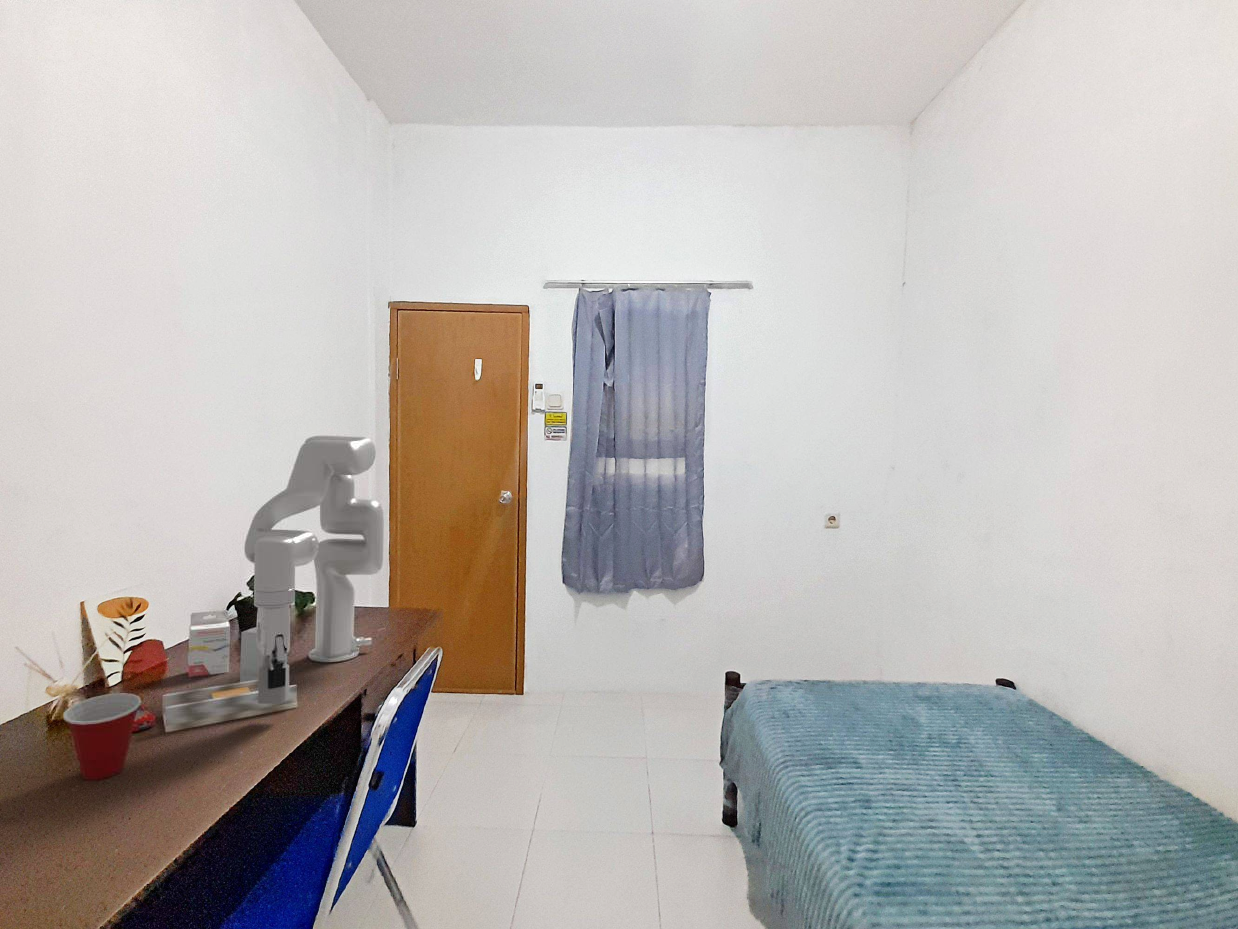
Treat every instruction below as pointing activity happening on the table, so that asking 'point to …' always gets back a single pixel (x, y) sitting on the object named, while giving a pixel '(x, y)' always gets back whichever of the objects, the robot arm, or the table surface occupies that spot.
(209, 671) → the ink cartridge box
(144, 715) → the race car
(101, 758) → the plastic cup
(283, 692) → the power adapter
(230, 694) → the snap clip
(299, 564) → the robot arm
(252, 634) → the supplement box
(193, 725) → the rail board
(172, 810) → the table surface
